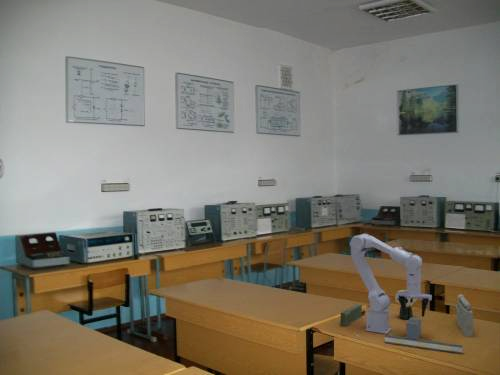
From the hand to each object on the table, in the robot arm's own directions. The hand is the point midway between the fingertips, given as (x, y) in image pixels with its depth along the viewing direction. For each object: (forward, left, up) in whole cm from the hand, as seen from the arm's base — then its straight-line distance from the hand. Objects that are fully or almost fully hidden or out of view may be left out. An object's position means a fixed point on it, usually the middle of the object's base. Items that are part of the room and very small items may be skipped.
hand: (413, 314), depth 225 cm
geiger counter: (+17, +22, -10) cm, 29 cm away
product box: (0, 0, -10) cm, 10 cm away
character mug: (-9, +27, -10) cm, 30 cm away
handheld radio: (-31, +13, -10) cm, 35 cm away
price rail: (+6, -13, -9) cm, 17 cm away
